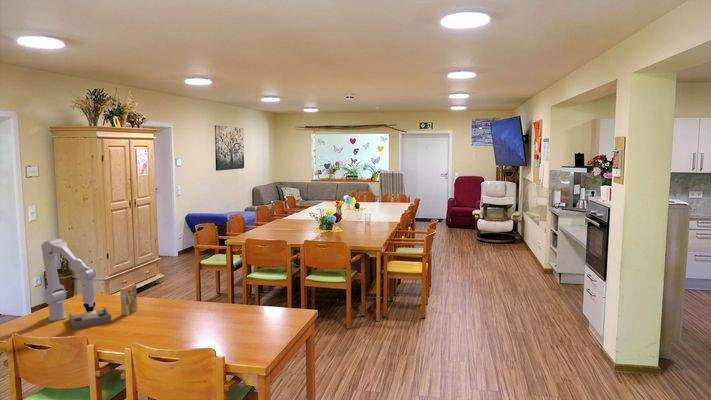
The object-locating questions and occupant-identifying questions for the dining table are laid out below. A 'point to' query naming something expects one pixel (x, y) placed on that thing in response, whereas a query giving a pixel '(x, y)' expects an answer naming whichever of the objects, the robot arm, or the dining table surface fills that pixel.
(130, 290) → the candy box
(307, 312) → the dining table surface
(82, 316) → the trap box
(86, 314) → the cream block
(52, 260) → the robot arm
